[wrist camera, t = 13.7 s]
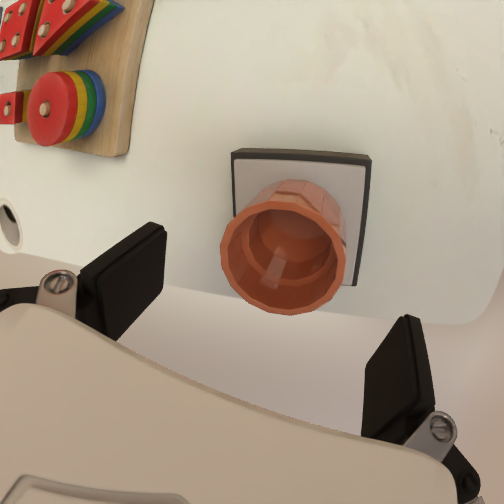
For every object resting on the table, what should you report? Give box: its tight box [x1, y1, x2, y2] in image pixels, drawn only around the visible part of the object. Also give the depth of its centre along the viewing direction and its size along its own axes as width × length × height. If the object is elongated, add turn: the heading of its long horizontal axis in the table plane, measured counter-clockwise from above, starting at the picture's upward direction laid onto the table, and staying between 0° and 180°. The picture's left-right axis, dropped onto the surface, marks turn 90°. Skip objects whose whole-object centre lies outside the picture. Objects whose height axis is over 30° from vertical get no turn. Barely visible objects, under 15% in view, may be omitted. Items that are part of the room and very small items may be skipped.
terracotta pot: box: [220, 179, 346, 315], centre depth 16 cm, size 6×6×5 cm
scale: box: [231, 148, 372, 286], centre depth 19 cm, size 9×9×3 cm
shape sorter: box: [0, 0, 154, 157], centre depth 17 cm, size 18×17×6 cm
